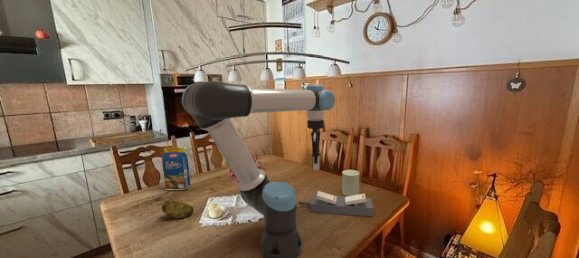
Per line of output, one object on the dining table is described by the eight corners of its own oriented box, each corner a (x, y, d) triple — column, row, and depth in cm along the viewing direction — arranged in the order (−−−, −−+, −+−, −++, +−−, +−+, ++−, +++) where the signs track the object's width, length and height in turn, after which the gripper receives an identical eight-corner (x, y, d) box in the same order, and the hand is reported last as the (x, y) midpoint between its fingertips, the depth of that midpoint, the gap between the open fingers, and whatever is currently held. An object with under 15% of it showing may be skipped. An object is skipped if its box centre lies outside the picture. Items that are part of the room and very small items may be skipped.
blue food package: (171, 186, 151) (166, 146, 146) (190, 186, 150) (186, 146, 145) (165, 191, 145) (160, 149, 140) (185, 191, 144) (181, 149, 139)
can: (359, 197, 129) (360, 175, 127) (341, 196, 131) (341, 174, 129) (358, 189, 138) (359, 169, 136) (341, 188, 140) (341, 168, 138)
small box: (346, 205, 112) (345, 201, 112) (345, 200, 117) (345, 196, 117) (366, 201, 110) (365, 198, 110) (365, 196, 115) (364, 193, 115)
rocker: (316, 198, 114) (317, 195, 114) (317, 193, 119) (318, 190, 119) (335, 204, 113) (336, 201, 113) (335, 199, 118) (336, 196, 118)
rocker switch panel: (297, 211, 117) (297, 200, 116) (300, 201, 126) (300, 191, 126) (373, 216, 110) (373, 205, 109) (370, 205, 120) (370, 195, 119)
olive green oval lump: (186, 222, 110) (184, 205, 109) (160, 220, 112) (157, 204, 111) (195, 212, 119) (194, 197, 117) (171, 211, 121) (169, 195, 119)
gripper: (322, 121, 105) (323, 174, 109) (324, 117, 118) (325, 165, 122) (305, 121, 106) (306, 174, 111) (309, 117, 119) (309, 164, 123)
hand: (316, 169), depth 116 cm, fingers closed
